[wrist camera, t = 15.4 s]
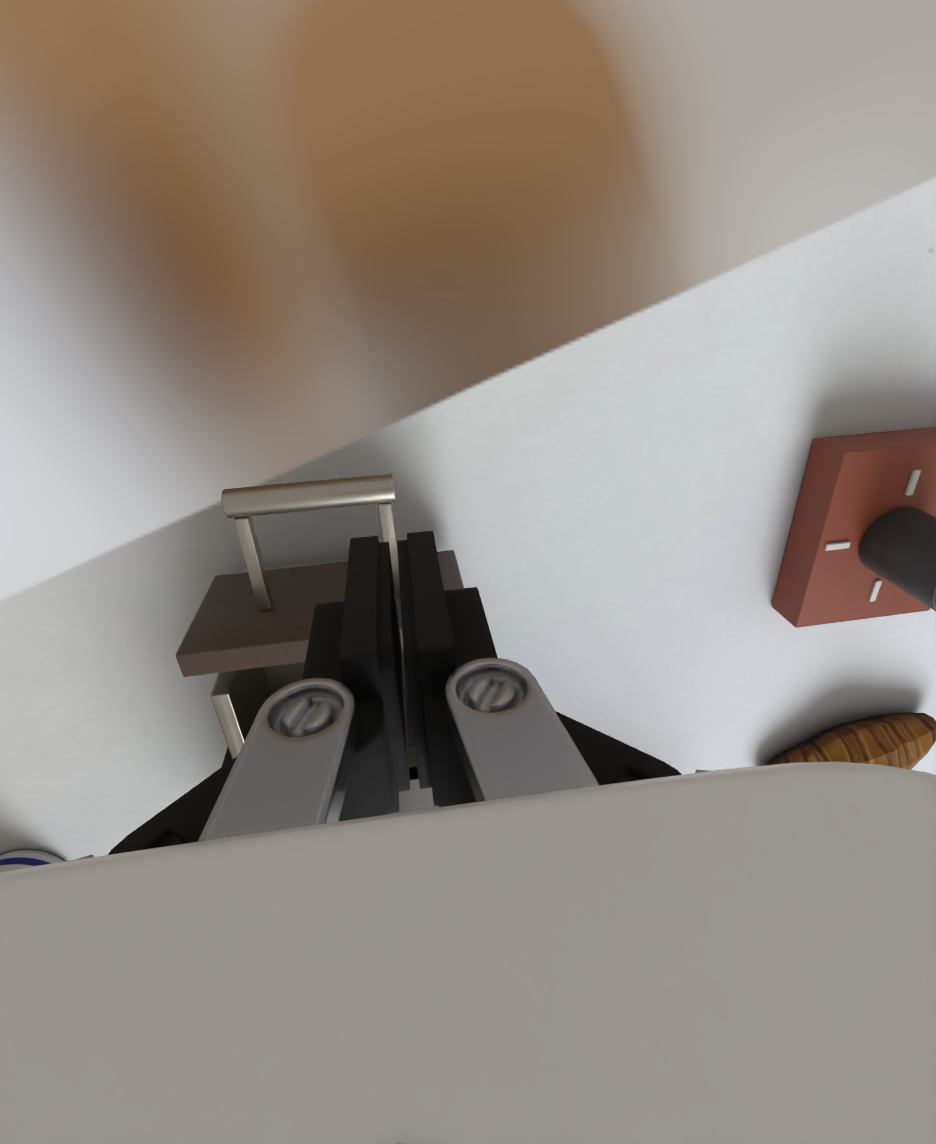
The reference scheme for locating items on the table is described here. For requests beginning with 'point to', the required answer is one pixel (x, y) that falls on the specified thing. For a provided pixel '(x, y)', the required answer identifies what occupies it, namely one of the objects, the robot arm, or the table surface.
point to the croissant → (870, 742)
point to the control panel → (852, 525)
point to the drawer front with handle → (280, 602)
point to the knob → (904, 552)
